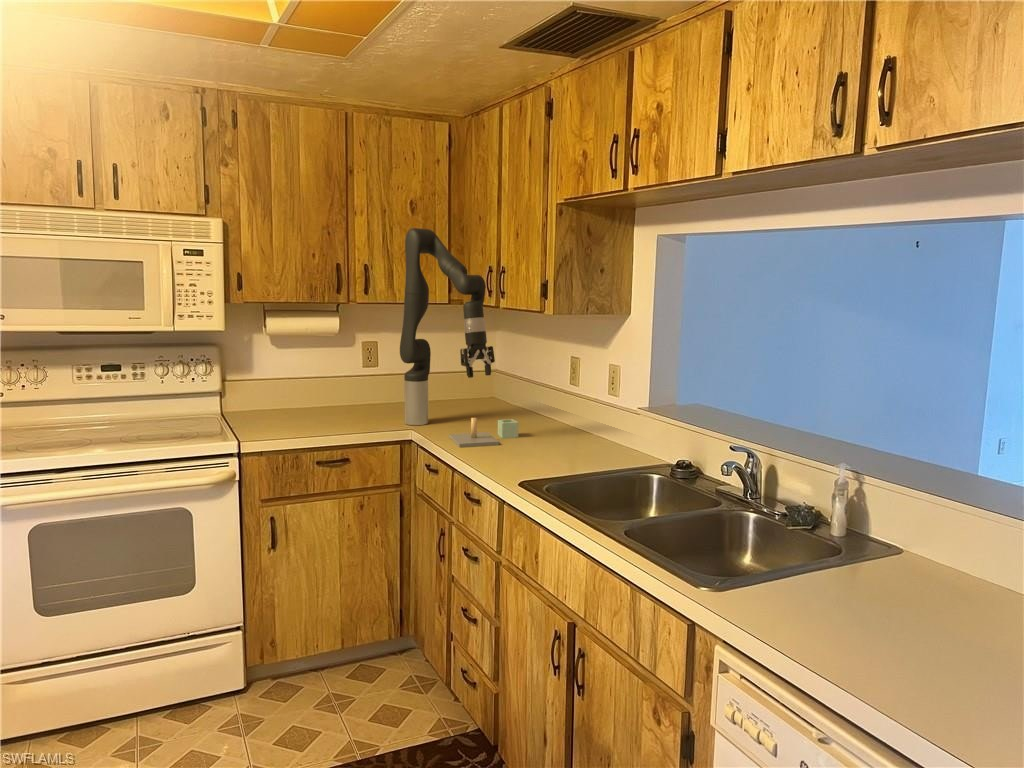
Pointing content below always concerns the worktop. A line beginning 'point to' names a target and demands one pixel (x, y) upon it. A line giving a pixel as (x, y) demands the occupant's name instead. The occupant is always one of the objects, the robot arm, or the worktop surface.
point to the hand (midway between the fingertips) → (479, 376)
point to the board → (475, 441)
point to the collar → (508, 428)
